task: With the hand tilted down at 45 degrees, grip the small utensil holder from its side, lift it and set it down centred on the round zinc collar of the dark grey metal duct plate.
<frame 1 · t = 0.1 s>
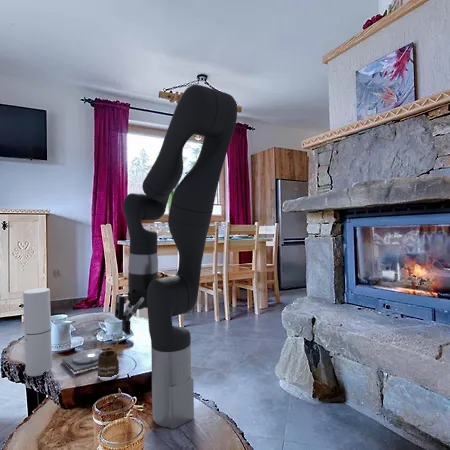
hand: (142, 329, 89), 17 cm above the table, tool pointing down, fingers open, 8 cm apart
utensil holder: (109, 377, 99), on the table
cylindrical container: (39, 371, 104), on the table
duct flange: (87, 362, 109), on the table
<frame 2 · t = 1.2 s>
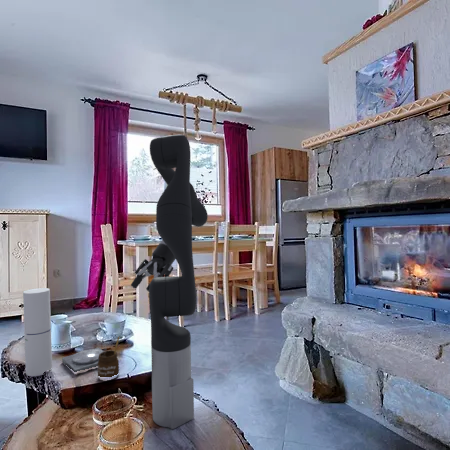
hand: (140, 289, 107), 24 cm above the table, tool tilted 45°, fingers open, 8 cm apart
nothing on the table moved.
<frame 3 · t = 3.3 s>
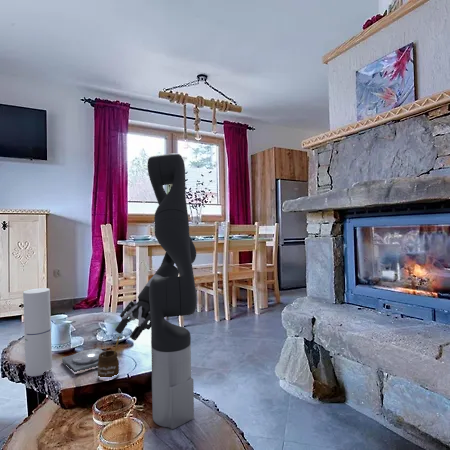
hand: (124, 335, 103), 11 cm above the table, tool tilted 45°, fingers open, 8 cm apart
nothing on the table moved.
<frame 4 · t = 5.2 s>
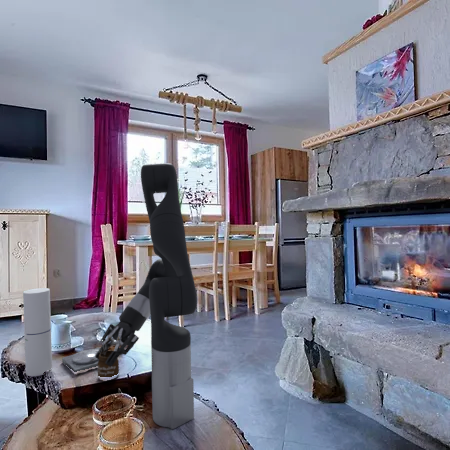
hand: (102, 361, 98), 5 cm above the table, tool tilted 45°, fingers closed on utensil holder, 5 cm apart
utensil holder: (109, 377, 99), on the table, touching gripper
everything else where it was.
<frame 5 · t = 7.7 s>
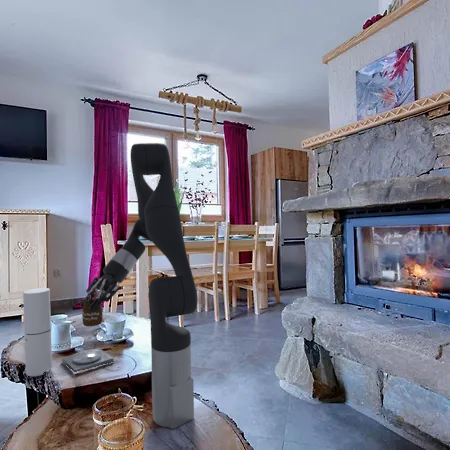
hand: (86, 308, 105), 19 cm above the table, tool tilted 45°, fingers closed on utensil holder, 5 cm apart
utensil holder: (93, 324, 107), point 13 cm above the table, touching gripper
everything else where it was.
when the fingers open (9 cm above the table, at t = 10.2 s): utensil holder drops 1 cm, resting on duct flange.
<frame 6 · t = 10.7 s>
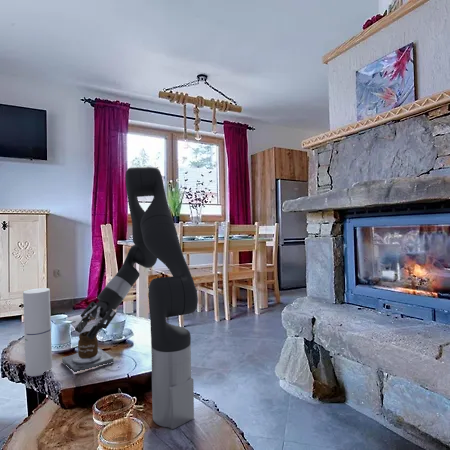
hand: (82, 334, 107), 10 cm above the table, tool tilted 45°, fingers open, 8 cm apart
utensil holder: (88, 355, 109), point 2 cm above the table, touching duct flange
everything else where it was.
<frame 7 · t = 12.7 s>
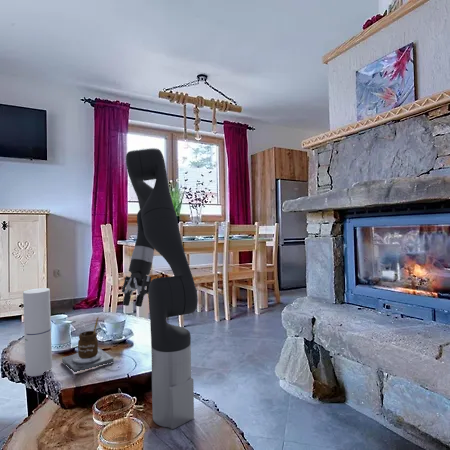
hand: (131, 305, 116), 16 cm above the table, tool tilted 25°, fingers open, 8 cm apart
nothing on the table moved.
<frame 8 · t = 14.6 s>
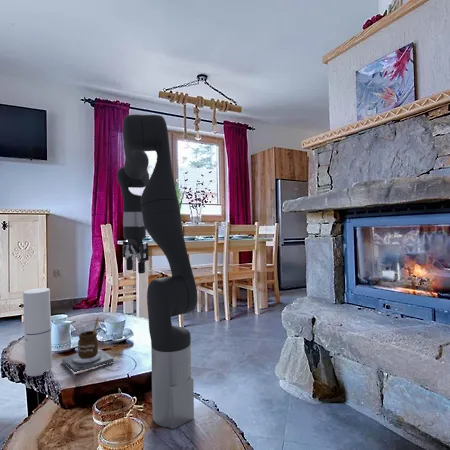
hand: (135, 271, 116), 28 cm above the table, tool pointing down, fingers open, 8 cm apart
nothing on the table moved.
at the end: utensil holder 0.4 cm from the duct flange (horizontally); utensil holder touching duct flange; utensil holder tilted 0° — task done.
